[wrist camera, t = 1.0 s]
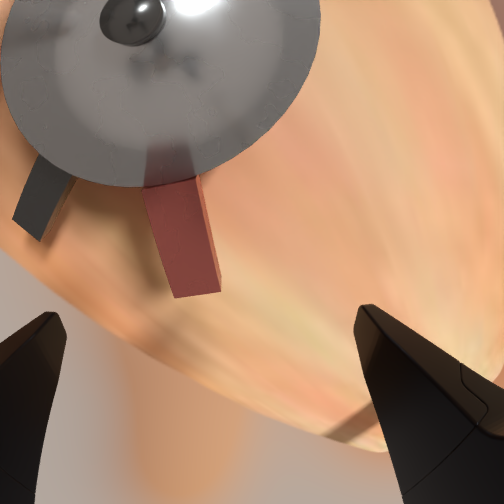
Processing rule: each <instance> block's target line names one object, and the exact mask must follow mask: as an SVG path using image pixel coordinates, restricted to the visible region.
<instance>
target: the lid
mask: <svg viewBox="0 0 504 504" xmlns="http://www.w3.org/2000/svg"><path fill="white" fill-rule="evenodd" d="M320 18H321V13H320V4H319V0H15V2H14V4H13V6H12V8H11V11H10V14H9V17H8V20H7V23H6V26H5V30H4V35H3V40H2V46H1V62H0V65H1V80H2V86H3V90H4V95H5V99H6V102H7V105H8V108H9V110H10V113H11V115H12V117H13V119H14V121H15V123H16V125H17V127H18V128H19V130H20V131H21V133H22V134H23V135H24V137H25V138H26V139H27V141H28V142H29V143H30V144H31V145H32V146H33V147H34V148H35V149H36V150H37V151H38V152H39V153H40V154H41V155H42V156H43V157H44V158H46V159H47V160H48V161H50V162H51V163H52V164H54V165H55V166H57V167H59V168H60V169H62V170H64V171H66V172H68V173H69V174H72V175H74V176H77V177H79V178H82V179H85V180H87V181H91V182H95V183H100V184H104V185H110V186H120V187H144V188H143V189H142V190H141V191H142V195H143V199H144V202H145V206H146V210H147V213H148V217H149V220H150V224H151V227H152V230H153V234H154V237H155V240H156V244H157V247H158V250H159V253H160V257H161V260H162V263H163V266H164V269H165V272H166V275H167V278H168V281H169V284H170V287H171V290H172V293H173V296H174V298H181V297H188V296H195V295H202V294H209V293H216V292H221V272H220V268H219V264H218V259H217V255H216V250H215V246H214V241H213V237H212V232H211V228H210V223H209V219H208V214H207V209H206V204H205V200H204V195H203V190H202V185H201V181H200V176H199V174H201V173H204V172H206V171H209V170H211V169H213V168H215V167H217V166H219V165H221V164H223V163H224V162H226V161H228V160H230V159H232V158H233V157H235V156H236V155H238V154H239V153H241V152H242V151H244V150H245V149H247V148H248V147H250V146H251V145H252V144H253V143H255V142H256V141H257V140H258V139H259V138H260V137H261V136H263V135H264V134H265V133H266V132H267V131H269V129H270V128H271V127H272V126H273V125H274V124H275V123H276V122H277V121H278V120H279V119H280V117H281V116H282V115H283V114H284V113H285V112H286V110H287V109H288V107H289V106H290V105H291V103H292V102H293V100H294V99H295V98H296V96H297V95H298V93H299V91H300V89H301V87H302V85H303V84H304V82H305V80H306V78H307V76H308V74H309V71H310V68H311V66H312V63H313V60H314V58H315V54H316V50H317V45H318V40H319V35H320Z"/></svg>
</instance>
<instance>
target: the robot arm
mask: <svg viewBox="0 0 504 504" xmlns="http://www.w3.org/2000/svg"><path fill="white" fill-rule="evenodd" d="M354 337H355V341H356V345H357V349H358V353H359V357H360V362H361V366H362V370H363V374H364V378H365V381H366V384H367V387H368V390H369V393H370V396H371V398H372V401H373V404H374V407H375V410H376V413H377V416H378V419H379V422H380V425H381V428H382V431H383V435H384V438H385V441H386V444H387V447H388V450H389V454H390V457H391V460H392V463H393V467H394V470H395V474H396V477H397V480H398V484H399V487H400V491H401V494H402V495H403V496H402V499H403V503H404V504H504V389H503V388H501V387H499V386H497V385H496V384H494V383H492V382H490V381H489V380H487V379H485V378H484V377H482V376H481V375H479V374H478V373H476V372H475V371H473V370H471V369H470V368H468V367H467V366H466V365H464V364H463V363H460V362H459V361H458V360H457V359H455V358H454V357H452V356H451V355H449V354H448V353H446V352H445V351H443V350H442V349H440V348H439V347H437V346H436V345H434V344H433V343H431V342H430V341H428V340H427V339H425V338H424V337H422V336H421V335H419V334H418V333H416V332H415V331H413V330H412V329H410V328H409V327H407V326H406V325H404V324H403V323H401V322H400V321H398V320H397V319H395V318H394V317H392V316H391V315H389V314H388V313H386V312H385V311H383V310H382V309H380V308H379V307H377V306H375V305H374V304H366V305H361V306H359V308H358V312H357V316H356V320H355V324H354ZM66 340H67V335H66V331H65V329H64V326H63V324H62V322H61V319H60V317H59V315H58V314H57V313H56V312H44V313H43V314H41V315H40V316H38V317H37V318H35V319H34V320H32V321H31V322H30V323H28V324H27V325H25V326H24V327H22V328H21V329H19V330H18V331H17V332H15V333H14V334H12V335H11V336H9V337H8V338H7V339H5V340H4V341H3V342H1V343H0V504H34V502H35V494H34V493H35V492H36V484H37V477H38V470H39V464H40V458H41V453H42V448H43V442H44V438H45V433H46V428H47V424H48V420H49V415H50V411H51V407H52V403H53V399H54V395H55V392H56V388H57V384H58V380H59V375H60V370H61V364H62V359H63V354H64V349H65V345H66Z"/></svg>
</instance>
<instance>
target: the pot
mask: <svg viewBox="0 0 504 504" xmlns="http://www.w3.org/2000/svg"><path fill="white" fill-rule="evenodd" d="M77 178H78V177H77V176H74V175H72V174H69V173H68V172H66V171H64V170H62V169H60V168H59V167H57V166H55V165H54V164H52V163H51V162H50V161H48V160H47V159H46V158H44V157H43V156H42V155H41V154H40V153H39V155H38V157H37V160H36V162H35V164H34V166H33V168H32V170H31V173H30V175H29V177H28V180H27V182H26V184H25V187H24V189H23V192H22V194H21V197H20V199H19V202H18V204H17V207H16V210H15V212H14V215H13V218H12V220H14V221H15V222H16V223H17V224H18V225H20V226H21V227H22V228H23V229H24V230H26V231H27V232H28V233H29V234H31V235H32V236H33V237H34V238H36V239H37V240H38V241H39V242H40V241H41V240H42V239H43V238H44V237H45V236H46V235H47V234H48V233H49V232H50V230H51V228H52V226H53V224H54V222H55V220H56V218H57V216H58V214H59V212H60V210H61V208H62V206H63V204H64V202H65V200H66V198H67V196H68V194H69V192H70V190H71V189H72V187H73V185H74V183H75V181H76V179H77Z"/></svg>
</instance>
